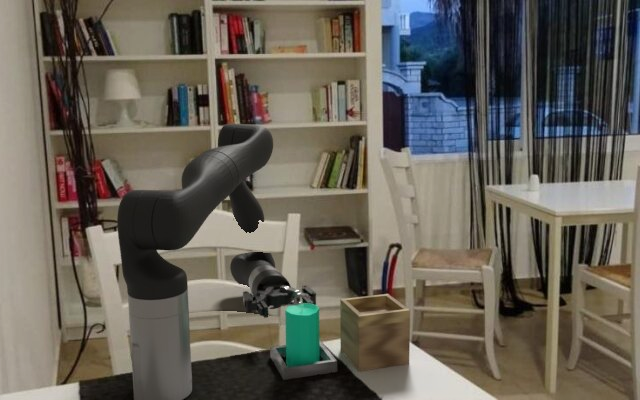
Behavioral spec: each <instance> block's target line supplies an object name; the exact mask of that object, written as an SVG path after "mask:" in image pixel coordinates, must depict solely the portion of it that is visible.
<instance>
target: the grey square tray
mask: <svg viewBox="0 0 640 400" xmlns="http://www.w3.org/2000/svg"><path fill="white" fill-rule="evenodd" d="M269 349H270V351H269V353H270V355H269V356H270V359H271V360H272V363H273V362H274V363H273V364H274V366H275V368H276V369H277V371H278V372H279V375H280V376H281V378H282V380H284V381H285V380H292V379H298V378H305V377H312V376H318V374H319V375H325V374H332V373H337V372H338V360H337V359H336V357H334V355H333V354H332V353H331V351H329V349H328V348H327V347H326V346H325V345H324V344H323V342H322V341H321V340H319V351H320V356H321V357H322V358H323V359H322V358H321V357H320V358H321V359H322V360H320V361H319V362H312V363H305V364H298V365H291V366H287V365H286V363H285V362H286V361H284V359H283V358H282V357H284V358H286V344H285V345H283V344H282V345H277V346H270V347H269ZM331 372H332V373H331Z"/></svg>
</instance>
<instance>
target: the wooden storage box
mask: <svg viewBox="0 0 640 400" xmlns="http://www.w3.org/2000/svg"><path fill="white" fill-rule="evenodd" d="M339 301H340V307H339V308H340V316H339V317H340V318H339V319H340V328H339V329H340V352H342V354H343V355H344V356H345V357H346V358H347V360H349V361H350V362H351V364H352V365H353V367H355V368H356V369H357V371H359V372H363V371H369V370H370V371H371V370H377V369H383V368H389V367H395V366H402V365H409V364H410V345H411V344H410V340H411V339H410V338H411V337H410V336H411V334H410V333H411V332H410V330H411V310H410V309H409V308H408V307H407V306H405V305H404V304H402V303H401V302H400V301H399V300H397V299H396V298H394V297H393V296H391V294H389V293H384V294H375V295H366V296H357V297H348V298H340V300H339Z"/></svg>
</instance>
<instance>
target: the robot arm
mask: <svg viewBox="0 0 640 400" xmlns="http://www.w3.org/2000/svg"><path fill="white" fill-rule="evenodd" d="M273 138H274V137H273V135H272V133H271V132H270V130H269V129H268V128H267V127H265V126H263V125H259V124H247V123H246V124H245V123H225V124H224V125H223V126H222V127H221V129H220V131H219V133H218V137H217V146H216V147H213V148H210V149H208V150H205V151H203V152H202V153H200V154H199V155H197V156H196V157H195V158H193V159H192V160H191V161H189V163H188V164H187V165H186V166H185V168H184V169H183V171H182V175H181V188H182V189H179V190H178V189H177V190H164V189H163V190H160V189H149V190H148V189H133V190H130V191H127V192H126V193H125V194H124V195H123V196H122V198H121V200H120V202H119V206H118V208H117V210H118V211H117V217H116V218H117V221H116V222H117V223H116V224H117V225H116V227H117V237H118V245H119V251H120V252H119V253H120V260H121V261H120V262H121V269H122V270H121V271H122V276H123V279H124V282H125V284H126V289H127V291H126V293H127V303H128V316H129V317H128V320H129V338H130V355H131V356H130V357H131V372H132V386H133V387H132V389H133V400H184V399H186V398H188V397H189V395H191V393H192V391H193V375H192V357H191V354H192V353H191V336H190V335H191V332H190V314H189V313H190V309H189V289H188V288H189V286H188V285H189V284H188V276H187V275H188V274H187V273H186V271H185V270H184V269H183V268H181V267H179V266H177V265H175V264H173V263H171V262H169V261H168V260H166V259H165V258H164V257H163V256H161V255H160V254H159V252H158V251H177V250H180V249H182V248H184V247H185V246H187V245H188V244H189V243H190V242H191V241H192V240H193V238H194V237H195V235H196V234H197V233H198V231H199V230H200V229H201V227H202V226H203V224H205V222H206V220H207V219H208V218H209V216H210V215H211V214H212V213H213V212H214V211H215V209H217V208H218V206H219V205H220V204H222V202H224V200H226V199H227V198H229V201H230V206H231V209H232V216H233V215H234V217H235V219H236V221H237V222H238V225H239V226H240V227H241V229H243V230H244V231H245V232H246V233H247V232H249V233H251V232H254V231H255V230H256V229H257V228H258V224H259V222H258V221H259V220H261V221H262V222H264V221H265V214H264V211H263V207H262V206H261V204H260V202H259V201H258V199H257V197H256V196H255V195H254V193H253V192H252V191H251V189H250V188H249V186H248V185H247V182H246V181H245V180H246V179H247V178H249V177H250V176H251V175H253V174H255V173H257V172H258V171H260V170H261V169H263V168H264V167H265V166H266V164H268V162H269V160H270V159H271V157H272V153H273V150H274V139H273ZM229 267H230V268H229V269H230V274H231V276H232V278H233V279H234V281H235V282H236V283H238V285H240V284H243V285H247V286H248V287H250V288H249V290H250V292H249V291H243V292H242V301H243V302H242V304H243V307H244V309H245V312H246V313H249V314H250V313H253V312H254V311H255V312H256V313H258V314H259V316H261V317H263V318H264V319H266V318H269V310H276V309H280V308H281V307H286V306H287V307H288V306H294V305H299V304H302V301H303V303H310V304H314V305H316V306H317V292H316V291H315V290H313V289H312V288H311V287H310V286H308V285H305V284H304V285H302V286H301V289H297V288H295V287H292V286H291V284H290V282H289V280H288V279H287V278H286V277H285V276H284V275H283V274H282V273H281V272H280V271H279V270H278V269H277V268H276V262H275V259H274V257H273V254H272V252H271V253H263V252H253V251H249V252H244V253H240V254H237V255H234V257H233V258H232V259H231V261H230V266H229ZM248 287H247V288H248Z"/></svg>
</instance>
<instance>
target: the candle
mask: <svg viewBox="0 0 640 400" xmlns="http://www.w3.org/2000/svg"><path fill="white" fill-rule="evenodd" d="M301 302H302V304H299V305H294V306H287V307H286V308H285V314H284V315H285V345H286V357H285V358H286V359H285V362H286V363H285V364H287V365H286V366H291V365H298V364H305V363H312V362H319V361H321V357H320V351H319V341H320V307H319V306H318V305H317V304H316V305H314V304H310V303H303V301H302V300H301Z"/></svg>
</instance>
